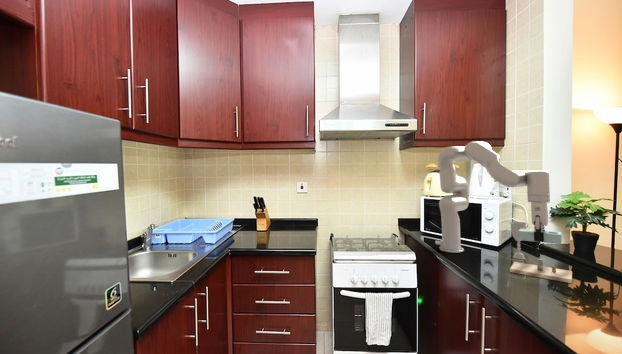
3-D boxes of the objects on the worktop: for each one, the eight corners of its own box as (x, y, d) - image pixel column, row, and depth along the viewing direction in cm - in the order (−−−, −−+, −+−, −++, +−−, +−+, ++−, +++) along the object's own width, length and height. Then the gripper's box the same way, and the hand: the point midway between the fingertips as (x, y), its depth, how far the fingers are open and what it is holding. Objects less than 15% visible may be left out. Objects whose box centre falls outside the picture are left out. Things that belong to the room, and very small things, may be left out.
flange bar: (518, 239, 123) (518, 230, 123) (520, 237, 127) (520, 228, 127) (561, 244, 113) (560, 234, 113) (561, 241, 117) (561, 232, 117)
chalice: (522, 255, 144) (521, 221, 144) (531, 259, 138) (530, 224, 137) (507, 255, 145) (506, 221, 145) (515, 259, 138) (514, 224, 138)
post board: (510, 271, 123) (509, 258, 123) (514, 264, 131) (514, 252, 131) (571, 283, 109) (571, 268, 109) (572, 274, 117) (571, 260, 117)
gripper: (548, 200, 111) (549, 245, 111) (551, 197, 123) (552, 237, 123) (524, 200, 116) (526, 242, 116) (529, 196, 129) (531, 235, 129)
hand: (539, 239), depth 120 cm, fingers closed on flange bar, 6 cm apart
